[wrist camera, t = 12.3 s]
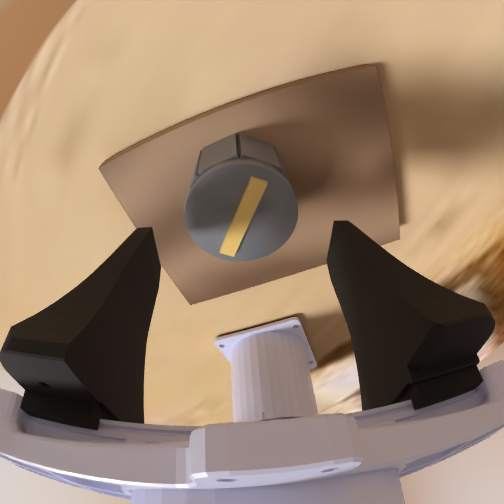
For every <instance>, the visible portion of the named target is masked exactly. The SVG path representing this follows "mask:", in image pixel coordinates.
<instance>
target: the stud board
mask: <svg viewBox="0 0 504 504" xmlns="http://www.w3.org/2000/svg"><path fill="white" fill-rule="evenodd" d="M234 133H235V134H236V136H237V137H238V135H239V133H241V134H244V135H247V136H250V137H253V138H256V139H258V140H261V141H264V142H267V143H270V144H272V145H273V147H275V148H276V150H277V153H278V155H279V157H280V160H281V162H282V164H283V167H284V169H285V172H286V174H287V176H288V179H289V181H290V184H291V186H292V189H293V191H294V194H295V197H296V199H297V202H298V220H297V224H296V227H295V229H294V231H293V233H292V235H291V236H290V238H289V239H288V240H287V242H286V243H285V244H284V245H283V246H282V247H280V248H279V249H278V250H276V251H275V252H273V253H271V254H270V255H268V256H265V257H263V258H260V259H256V260H251V261H228V260H224V259H220V258H217V257H215V256H213V255H211V254H209V253H207V252H205V251H204V250H203V249H202V248H200V247H199V246H198V245H197V244H196V243H195V241H194V240H193V239H192V237H191V236H190V234H189V232H188V229H187V227H186V223H185V215H184V211H185V210H183V209H184V205H185V200H186V196H187V192H188V188H189V184H190V180H191V177H192V174H193V171H194V168H195V165H196V162H197V159H198V156H199V153H200V151H202V150H203V147H205V146H208V145H210V144H212V143H214V142H216V141H218V140H221V139H223V138H225V137H227V136H230V135H232V134H234ZM99 170H100V172H101V173H102V175H103V177H104V178H105V180H106V182H107V183H108V185H109V186H110V188H111V190H112V191H113V193H114V195H115V196H116V198H117V199H118V201H119V202H120V204H121V206H122V207H123V209H124V210H125V212H126V213H127V215H128V216H129V218H130V220H131V221H132V223H133V224H134V226H135V227H136V229H137V228H142V227H152V228H153V233H154V238H155V242H156V247H157V251H158V256H159V260H160V264H161V265H162V267H163V268H164V269H165V271H166V272H167V274H168V275H169V276H170V278H171V279H172V281H173V282H174V283H175V285H176V286H177V288H178V289H179V290H180V292H181V293H182V294H183V296H184V297H185V298H186V300H187V301H188V302H189V304H190V305H192V304H196V303H199V302H203V301H206V300H209V299H213V298H216V297H220V296H223V295H227V294H230V293H233V292H237V291H240V290H244V289H247V288H250V287H254V286H257V285H260V284H263V283H267V282H270V281H273V280H276V279H280V278H283V277H286V276H289V275H293V274H296V273H299V272H302V271H305V270H308V269H312V268H315V267H318V266H321V265H324V264H327V261H326V260H327V255H328V249H329V244H330V239H331V233H332V228H333V222H334V221H341V220H348V221H349V222H351V223H352V224H354V225H355V226H356V227H357V228H359V229H360V230H361V231H362V232H364V233H365V234H366V235H367V236H368V237H370V238H371V239H372V240H373V241H375V242H376V243H377V244H378V245H380V246H381V245H384V244H387V243H390V242H393V241H396V240H399V239H400V228H399V211H398V198H397V187H396V178H395V169H394V161H393V153H392V146H391V139H390V133H389V127H388V121H387V115H386V110H385V105H384V100H383V95H382V90H381V86H380V81H379V77H378V73H377V69H376V66H372V65H368V64H365V65H360V66H355V67H350V68H346V69H341V70H337V71H333V72H329V73H324V74H320V75H317V76H313V77H309V78H305V79H302V80H298V81H295V82H291V83H288V84H284V85H281V86H278V87H275V88H271V89H268V90H265V91H262V92H259V93H256V94H253V95H250V96H247V97H244V98H242V99H239V100H236V101H233V102H231V103H228V104H225V105H223V106H220V107H217V108H215V109H212V110H210V111H207V112H205V113H202V114H200V115H198V116H195V117H193V118H190V119H188V120H186V121H183V122H181V123H179V124H177V125H174V126H172V127H170V128H168V129H166V130H163V131H161V132H159V133H157V134H155V135H153V136H151V137H149V138H147V139H145V140H143V141H141V142H139V143H137V144H135V145H133V146H131V147H129V148H127V149H125V150H123V151H121V152H119V153H117V154H116V155H114V156H112V157H110V158H108V159H106V160H105V161H104V162H103V163H102V165H101V166H100V167H99Z"/></svg>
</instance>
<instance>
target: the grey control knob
mask: <svg viewBox="0 0 504 504" xmlns="http://www.w3.org/2000/svg"><path fill="white" fill-rule="evenodd" d="M183 210H185V211H184V215H185V223H186V227H187V229H188V232H189V234H190V236H191V237H192V239H193V240H194V241H195V243H196V244H197V245H198V246H199V247H200V248H202V249H203V250H204V251H205V252H207V253H209V254H211V255H213V256H215V257H217V258H220V259H224V260H228V261H251V260H256V259H260V258H263V257H265V256H268V255H270V254H271V253H273V252H275V251H276V250H278V249H279V248H280V247H282V246H283V245H284V244H285V243H286V242H287V240H288V239H289V238H290V236H291V235H292V233H293V231H294V229H295V227H296V224H297V220H298V202H297V199H296V197H295V194H294V191H293V189H292V186H291V184H290V181H289V179H288V176H287V174H286V172H285V169H284V167H283V164H282V162H281V160H280V157H279V155H278V153H277V150H276V148H275V147H273V145H272V144H270V143H267V142H264V141H261V140H258V139H256V138H253V137H250V136H247V135H244V134H241V133H239V135H238V137H237V136H236V134H235V133H234V134H232V135H230V136H227V137H225V138H223V139H221V140H218V141H216V142H214V143H212V144H210V145H208V146H205V147H203V150H202V151H200V153H199V156H198V159H197V162H196V165H195V168H194V171H193V174H192V177H191V180H190V184H189V188H188V192H187V196H186V200H185V205H184V209H183Z"/></svg>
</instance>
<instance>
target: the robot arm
mask: <svg viewBox="0 0 504 504" xmlns="http://www.w3.org/2000/svg"><path fill="white" fill-rule="evenodd" d="M326 261H327V265H328V270H329V274H330V278H331V282H332V284H333V287H334V290H335V292H336V295H337V298H338V300H339V303H340V306H341V308H342V311H343V314H344V316H345V319H346V322H347V325H348V328H349V331H350V335H351V340H352V344H353V349H354V353H355V359H356V364H357V370H358V376H359V384H360V391H361V401H362V411H360V412H355V413H350V414H342V413H336V414H322V415H318V410H317V405H316V400H315V395H314V390H313V384H312V379H311V375H310V370H309V369H312V368H315V367H316V366H317V363H316V360H315V357H314V355H313V352H312V350H311V347H310V345H309V342H308V340H307V337H306V335H305V332H304V330H303V327H302V325H301V322H300V320H299V318H298V317H291V318H287V319H284V320H281V321H277V322H273V323H270V324H266V325H263V326H259V327H255V328H252V329H248V330H244V331H240V332H236V333H232V334H229V335H225V336H221V337H217V338H215V340H214V343H215V345H216V346H217V347H218V349H219V350H220V351H221V352H222V353H223V354H224V356H225V357H226V358H227V359H228V360H229V362H230V363H231V380H232V405H233V422H232V423H219V424H209V425H205V426H168V425H152V424H144V367H145V354H146V343H147V337H148V331H149V327H150V322H151V318H152V314H153V310H154V305H155V301H156V297H157V293H158V289H159V281H160V272H161V264H160V260H159V256H158V251H157V247H156V242H155V238H154V233H153V228H152V227H142V228H137V229H136V230H135V231H134V232H133V233H132V234H131V235H130V236H129V237H128V238H127V239H126V240H125V241H124V242H123V243H122V244H121V245H120V246H119V247H118V248H117V249H116V250H115V252H114V253H113V254H112V255H111V256H110V257H109V258H108V259H107V260H106V261H105V262H103V263H102V264H101V265H100V266H99V267H98V268H97V269H96V270H95V271H94V272H93V273H92V274H91V275H90V276H89V277H88V278H86V279H85V280H84V281H83V282H82V283H80V284H79V285H78V286H77V287H75V288H74V289H73V290H71V291H70V292H69V293H67V294H66V295H65V296H63V297H62V298H60V299H59V300H58V301H56V302H55V303H53V304H52V305H50V306H48V307H47V308H45V309H44V310H42V311H40V312H39V313H37V314H35V315H33V316H31V317H29V318H27V319H26V320H24V321H22V322H20V323H18V324H16V325H14V326H11V328H10V331H9V333H8V335H7V337H6V340H5V342H4V344H3V347H2V349H1V351H0V361H1V363H2V365H3V367H4V368H5V370H6V371H7V372H8V373H9V374H10V375H11V376H12V377H13V378H14V379H15V380H16V381H17V382H18V383H19V384H20V385H21V386H22V387H23V388H24V389H25V393H24V396H23V397H22V396H21V395H19V394H17V393H14V392H10V391H7V390H4V389H0V457H2V458H4V459H5V460H7V461H9V462H11V463H13V464H15V465H16V466H18V467H20V468H23V469H26V470H28V471H31V472H34V473H36V474H39V475H42V476H45V477H47V478H50V479H53V480H56V481H59V482H62V483H65V484H69V485H72V486H75V487H79V488H82V489H86V490H90V491H93V492H97V493H102V494H106V495H110V496H115V497H120V498H125V499H130V500H131V504H405V502H404V497H403V492H402V488H401V483H400V480H399V478H400V477H403V476H406V475H408V474H411V473H414V472H416V471H419V470H421V469H424V468H426V467H429V466H431V465H433V464H436V463H438V462H440V461H443V460H445V459H447V458H449V457H451V456H453V455H456V454H457V453H460V452H461V451H464V450H466V449H468V448H470V447H472V446H474V445H475V444H478V443H479V442H481V441H483V440H485V439H487V438H489V437H490V436H491V435H493V434H495V433H496V432H497V431H499V430H500V429H502V428H503V427H504V361H503V360H501V361H498V362H496V363H494V364H491V365H488V366H486V367H484V368H483V369H481V370H480V371H479V370H478V368H477V364H478V363H479V361H480V360H479V358H478V356H477V352H478V351H479V350H480V349H481V348H482V346H483V345H484V344H485V342H486V341H487V340H488V339H489V337H490V336H491V334H492V332H493V330H494V327H495V320H494V318H493V317H492V315H491V313H490V312H489V310H488V308H487V307H486V305H485V304H484V303H481V302H478V301H476V300H473V299H470V298H467V297H464V296H462V295H460V294H457V293H455V292H453V291H451V290H448V289H446V288H444V287H442V286H440V285H438V284H436V283H435V282H433V281H431V280H429V279H427V278H426V277H424V276H422V275H420V274H419V273H417V272H416V271H414V270H413V269H411V268H409V267H408V266H406V265H405V264H403V263H402V262H401V261H399V260H398V259H397V258H395V257H394V256H392V255H391V254H390V253H388V252H387V251H386V250H385V249H383V248H382V247H381V246H380V245H378V244H377V243H376V242H375V241H373V240H372V239H371V238H370V237H368V236H367V235H366V234H365V233H364V232H362V231H361V230H360V229H359V228H357V227H356V226H355V225H354V224H352V223H351V222H349V221H348V220H341V221H334V222H333V228H332V233H331V239H330V244H329V249H328V255H327V260H326Z"/></svg>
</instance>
